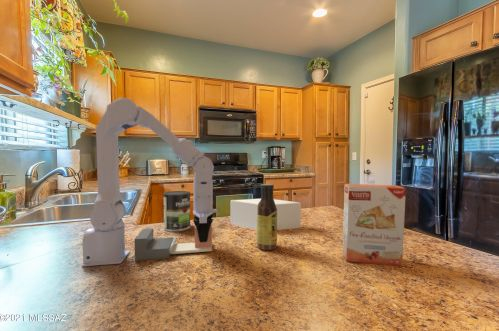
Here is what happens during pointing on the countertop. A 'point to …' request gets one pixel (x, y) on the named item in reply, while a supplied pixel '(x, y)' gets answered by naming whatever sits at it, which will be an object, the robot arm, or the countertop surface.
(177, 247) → the pink and white block
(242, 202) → the white rectangular box
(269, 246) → the sauce bottle
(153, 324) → the countertop surface
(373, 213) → the cracker box
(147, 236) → the dispenser
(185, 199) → the coffee can
